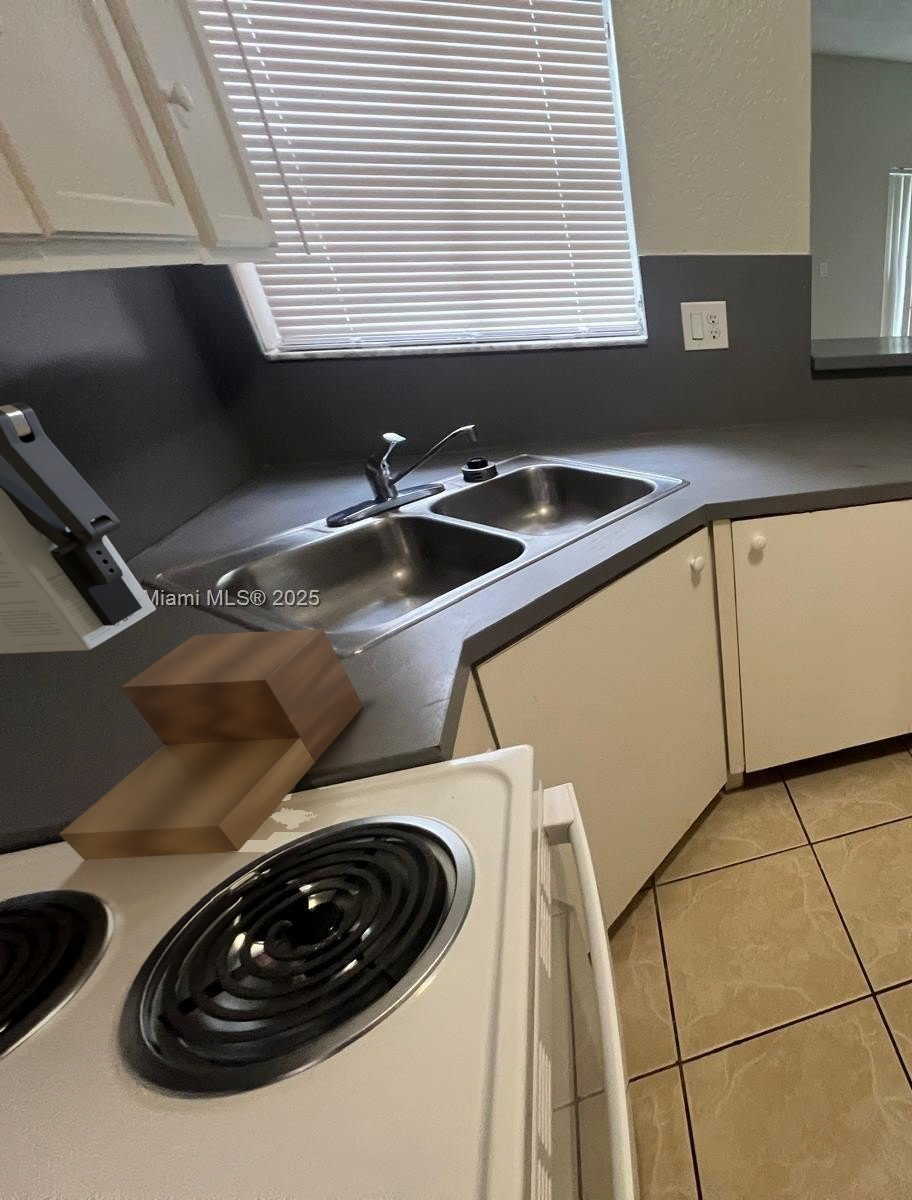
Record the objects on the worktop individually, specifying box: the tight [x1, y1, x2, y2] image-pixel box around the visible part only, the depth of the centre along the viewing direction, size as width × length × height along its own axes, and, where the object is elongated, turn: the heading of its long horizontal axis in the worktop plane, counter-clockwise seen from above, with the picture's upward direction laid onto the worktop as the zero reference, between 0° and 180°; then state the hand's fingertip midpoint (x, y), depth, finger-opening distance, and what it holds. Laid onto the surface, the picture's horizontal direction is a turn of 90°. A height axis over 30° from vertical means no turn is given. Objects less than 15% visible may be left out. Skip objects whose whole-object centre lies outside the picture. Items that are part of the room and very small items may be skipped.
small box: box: [0, 488, 157, 655], centre depth 49 cm, size 8×6×13 cm
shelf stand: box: [58, 628, 364, 860], centre depth 62 cm, size 14×20×11 cm
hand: (69, 619), depth 52 cm, fingers closed on small box, 8 cm apart
